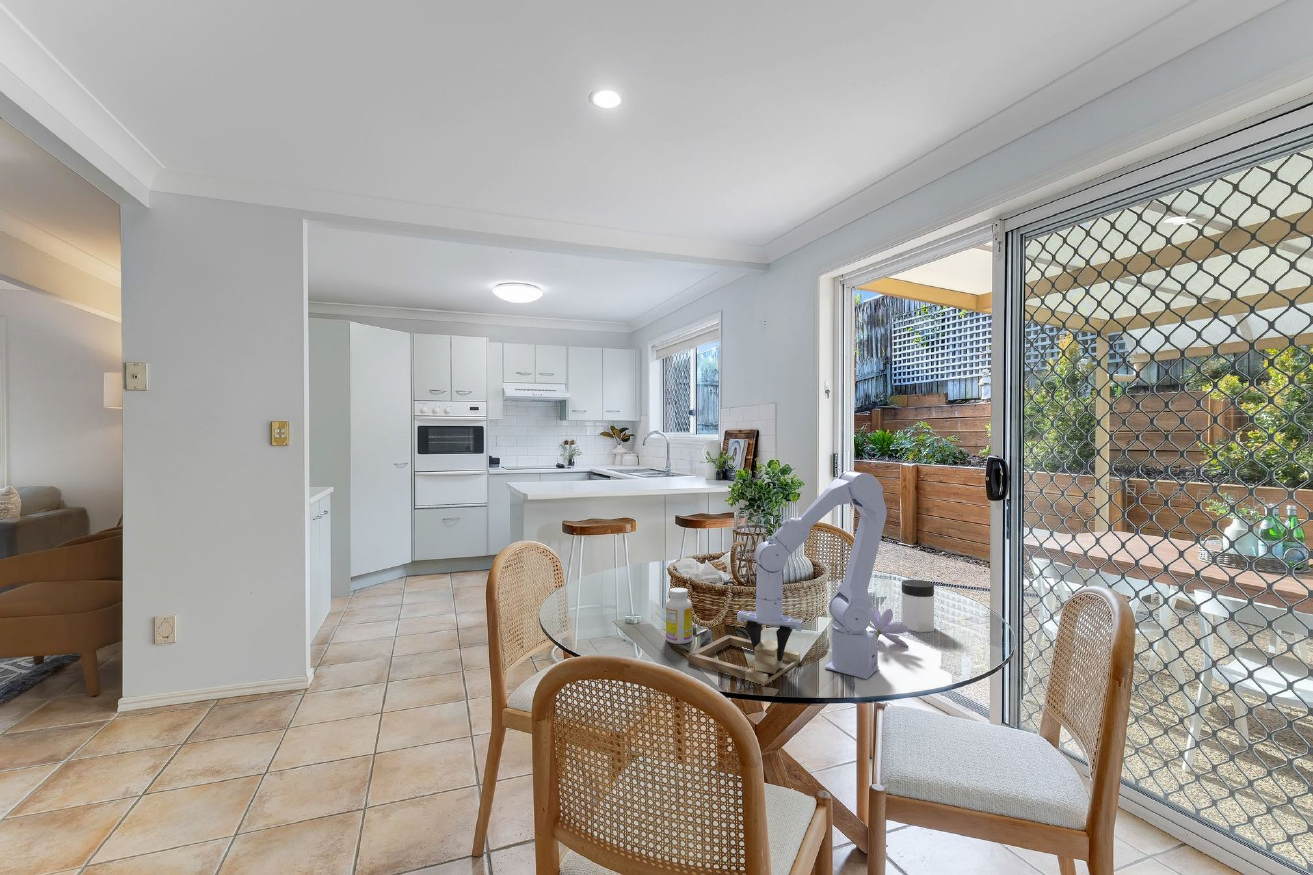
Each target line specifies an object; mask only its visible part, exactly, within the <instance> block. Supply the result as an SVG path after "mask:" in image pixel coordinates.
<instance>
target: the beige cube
mask: <svg viewBox="0 0 1313 875" xmlns="http://www.w3.org/2000/svg"><path fill="white" fill-rule="evenodd" d="M761 639H762V640H761V641H760V642H759V644H758V645H757V646H756V647H755V649H754V652H753V654H754V653H755V654H754V671H758V672H761V673H766V674H768V673H769V674H773V675H775V674H776V673H778V670H779V669H780V668H781V666H782V665H783V660H781V661H777V650H778V644H777V640H771V639H765V638H761Z"/></svg>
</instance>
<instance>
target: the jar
mask: <svg viewBox="0 0 1313 875" xmlns="http://www.w3.org/2000/svg"><path fill="white" fill-rule="evenodd" d="M900 620H901V621H900V622H903V623H902V624H903V625H906V626H907V627H908V628H910V629H911V630H910V631H912V632H915V633H928V632H929V633H930V632H932V633H933V632H934V630H935V629H934V628H935V585H934V583H932V582H930V581H926V580H919V579H906V580H902V581H901V619H900Z"/></svg>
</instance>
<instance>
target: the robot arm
mask: <svg viewBox="0 0 1313 875" xmlns="http://www.w3.org/2000/svg"><path fill="white" fill-rule="evenodd" d="M883 492H884V486H883V485H882V483H880V482H879V480H878V479H877V477H876V476H874V475H873V474H871V473H867V472H858V471H856V470H851V469H849V470H845V471H843V472H842V473H840V475H839V476H838V477H837V478H835V479H834V480H833V481H831V483H830V484H829V485H828V487H827V488H825V490H824V491H823V492H822V493H821V494H819V496H817V498H816V499H815V500H814V501H813V502H812V503H811V504H810V505H809V507H808V508H806V510H804V512H803V513H802V514H801V515H800V516H798V517H790V518H789V519H788V520H787V519H783V521H781V527H779V528H778V529H777V530H776V531H775V532H774V533H773V534H772V535H771V536H770V535H768V536H767V537H766V540H767V541H763V542H761V543H759V544H758V545H757V547H756V548H755V551H754V552H753V558H754V560H755V562H756V563H757V565H756V584H755V585H756V588H755V589H756V590H755V591H756V593H755V595H756V612H747V611H739V612H738V613H737V621H738V622H742V621H744V622H747V625H746V626H745V632H747V636H748V637H749V640H751V642H752V645H753V649H755V647H756V646H757V645H758V644H759V642H760V641H761V639H762V638H761V637H762V628H763V626H762V625H764V626H770V627H778V629H777V630H776V632H775V633H776V634H775V635H776V641H777V644H778V650H777V661H781V660H782V659H783V654H784V650H785V649H786V645H787V643H788V640H789V638H790V636H791V633H792V632H793V630H795V631H796V632H802V630H803V629H804V620H803V619H797V618H794V617H790V616H787V615H783V593H784V592H783V588H784V586H783V584H784V583H783V581H784V578H783V568H785V567H786V564H787V559H788V557H790V556H791V555H792V554H793V553H794V552H795V551H797V549H798V548H799V547H801V545H802V544H804V542H805V541H807V540H808V539H809V537H810V535H811V534H810V533H811V528H813V527H814V526H815V525H816V524H817V523H818V522H819V521H820V520H822V518H824V517H825V516H826V515H827V514H829V513H830V512H831V511H832V510H833V509H834V508H836V507H837V506H840V505H847V504H848V505H849V504H853V507H854V508H855V509H856V510H857V512H858V513H859V516H860V517H859V520H858V523H857V524H858V525H857V529H856V532H855V536H854V540H853V544H852V547H851V552H850V555H849V559H848V564H847V567H846V571H845V576H844V578H843V581H842V582H841V584H840V585H839V586H838V587H837V589H836V593H835V594H834V595H833V597H831V599H830V601H829V604H828V610H829V614H830V615H831V617H832V618H833V621H832V624H831V661H830V662H829V663H826V664H825V665H824V668H825V669H826V670H830V671H834V672H838V673H842V674H846V675H848V676H852V677H857V678H860V679H864V680H867V679H869V678H870V677H871V676H872V675H873V674H874V673H876V672H877V670H878V669H879V668H880V666H879V664H878V662H879V660H878V659H879V658H878V657H879V651H878V650H879V643H878V642H879V641H878V640H879V638H878V639H877V636H876V635H875V634H873V633H870V632H868V631H869V630H867V629H868V627H870V626H869V624H870V623H871V620H870V619H871V618H870V612H869V607H870V606H871V598H870V595H869V592H868V591H869V585H870V583H871V578H872V574H873V570H874V566H875V563H876V559H877V554H878V550H879V546H880V543H881V540H882V535H883V531H884V527H885V524H886V520H887V516H888V510H887V506H886V503H885V498H884V495H883V494H884V493H883ZM870 608H871V607H870ZM753 654H754V655H755V653H754V652H753ZM782 661H783V660H782Z"/></svg>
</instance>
